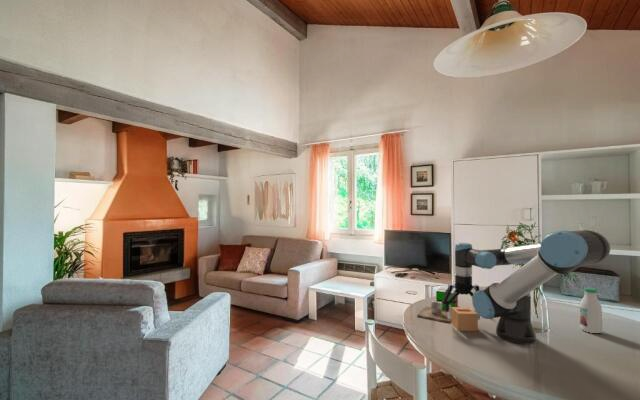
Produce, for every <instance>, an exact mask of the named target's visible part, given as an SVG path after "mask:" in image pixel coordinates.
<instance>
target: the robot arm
mask: <svg viewBox="0 0 640 400" xmlns="http://www.w3.org/2000/svg"><path fill="white" fill-rule="evenodd" d="M454 247H455V248H454V274H455V275H454V284H451V283H449V284H447V285H448V286H447V288H448V289H447V291H446V293H445V295H444V297H443V299H442V303H443V304H445V305H446V311H447V317H448V318H449V319H451V305H450V303H451V302H452V301H453V300H454V299H455V298H456V297H457V295H458V296H459V295H469V296H471V301H472V303H471V304H472V307H473V310H475V311H476V313H477V314H478V321H480V320H481V318H483V319H485V320H486V319H487V320H490V319H491V320H492V319H494V318H499V319H498V322H497V324H496V327H495V333H496V334H495V335H497V336H498V337H500V338H501V339H503V340H505V341H509V342H513V343H517V344H523V345H524V344H525V345H527V344H534V343H536V342H537V335H536V332H535V329H534V327H533V324H532V315H531V314H532V311H531V310H532V308H531V306H532V305H531V303H532V302H531V300H532V296H531V292H533V291H534V290H536V289H537V288H539V287H540V286H542V285H543V284H546V283H547V282H548V281H550V280H551V279H552V278H554V277H555V276H558V275H561V276H566V275H568V274H570V273H572V272H574V271H575V270H576V269H578V268H580V267H582V266H585V265H586V266H587V265H594V264H598V263H601V262H603V261H604V260H606V259H607V258H608V257H609V255H610V254H611V253H610V252H611V244H610V242H609V240H608V239H607V238H606V236H604V235H603V234H601V233H599V232H598V231H593V230H589V229H584V230H582V229H581V230H571V231H570V230H560V231H556V232H552V233H550V234H547V235H545V236H544V238H542V240H541V242H538V243H532V244H524V245H517V246H511V247H504V248H495V249H494V248H493V249H480V250H479V249H475V248H473V245H472V244H471V243H468V242H457V243H456V244H455V246H454ZM517 264H524V265H522V266H521V267H520V268H518V269H516V270H515V271H514V272H512V273H511V274H510V275H509V276H508V277H506V278H504V279H503V280H502V281H501V282H494V283H491V284H490V285H488V286H487V287H486V288H484V289H483V290H482V289H480V286H479V285H478V284H473V276H472V275H473V266H474V267H477V268H479V269H480V268H481V269H486V270H487V269H488V270H491V269H493V268H494V267H495V266H497V267H498V266H509V265H517ZM452 289H456V290H455V291H454V293H453V294H452V295H451V296H450V297H449V295H450V293H451V292H452ZM473 289H474V292H472V290H473ZM448 297H449V298H448Z"/></svg>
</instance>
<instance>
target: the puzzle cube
mask: <svg viewBox="0 0 640 400" xmlns="http://www.w3.org/2000/svg"><path fill="white" fill-rule="evenodd" d="M447 289H448V287H443V286H442V287H439V288H438V289H437V290H436V293H435V294H436V301H437V302H442V299H443V297H444V295H445V293H446V291H447ZM455 290H456V289H455V288H453V289H452V292H451V293H450V295H449V297H450V296H451V295H452V294H453V293H454V291H455ZM449 297H448V298H449ZM458 298H459V295H457V297H456V298H455V299H454V300H453V301H452V302H451V303H450V305H451V307H459V299H458ZM442 309H443V310H446V305H445V304H443V303H442Z"/></svg>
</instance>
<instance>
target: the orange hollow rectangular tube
mask: <svg viewBox="0 0 640 400" xmlns="http://www.w3.org/2000/svg"><path fill="white" fill-rule="evenodd" d="M473 310H474V309H472V308H471V307H464V306H463V307H462V306H461V307H459V306H458V307H451V321H450V323H451V325H453V327H454V328H455V329H456V331H464V332H479V322H478V321H479V320H478V314H477V313H476V312H475V311H473Z"/></svg>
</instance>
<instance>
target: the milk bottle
mask: <svg viewBox="0 0 640 400" xmlns="http://www.w3.org/2000/svg"><path fill="white" fill-rule="evenodd" d="M583 293H584V295H583V298H582V299H581V301H580V305H579V312H580V313H579V324H580V330H581V329H582V330H581V331H583V330H584V331H583V332H585V331H586V332H585V333H588V332H590V333H589V334H592V333H602V334H603V309H602V305H601V303H600V300H599V299H598V296H597V294H598V289H597V288H595V287H588V286H587V287H586V286H585V287H583Z"/></svg>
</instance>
